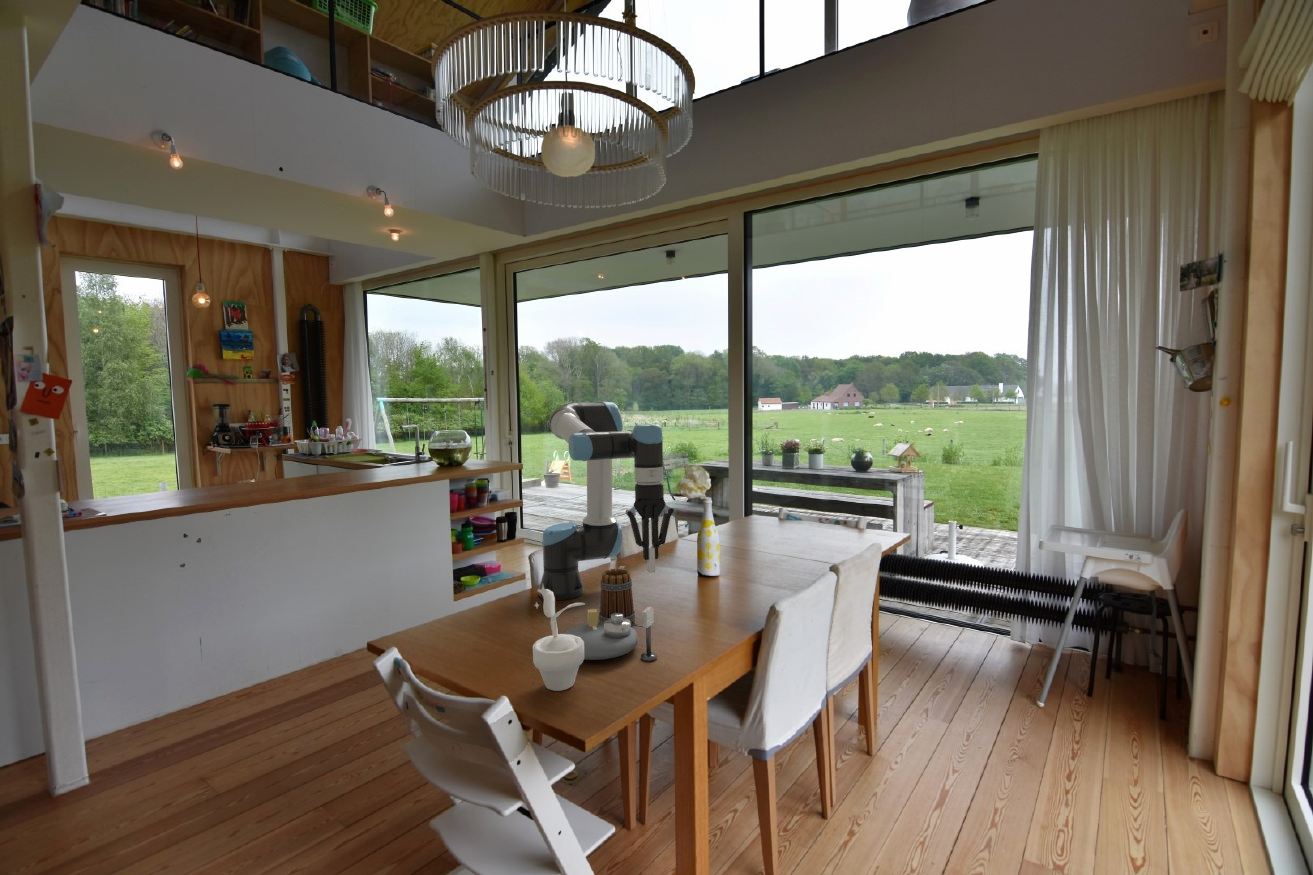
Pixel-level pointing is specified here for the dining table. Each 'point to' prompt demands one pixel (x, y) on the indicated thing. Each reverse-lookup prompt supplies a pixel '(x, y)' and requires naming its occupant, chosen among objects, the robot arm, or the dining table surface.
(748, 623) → the dining table surface
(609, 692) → the dining table surface
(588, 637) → the turntable
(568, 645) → the potted plant
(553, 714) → the dining table surface
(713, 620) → the dining table surface
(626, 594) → the mug
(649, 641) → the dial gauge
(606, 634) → the cover
